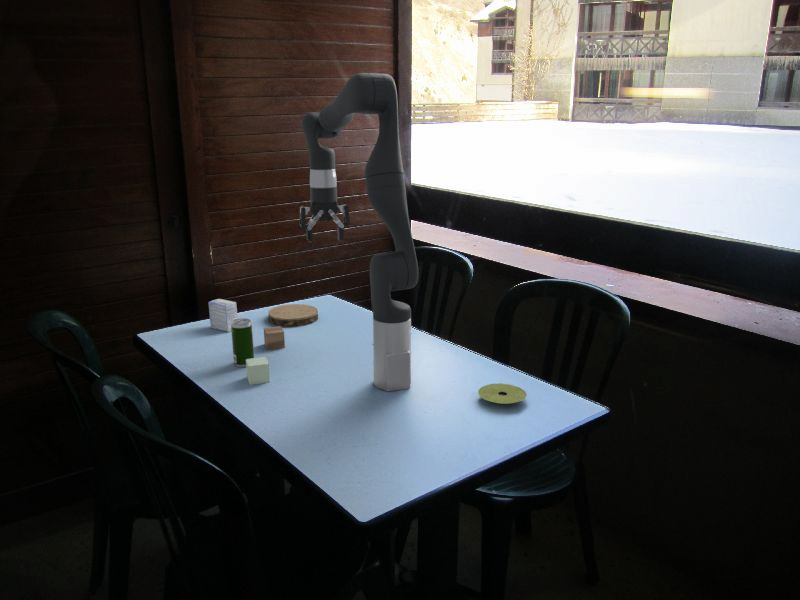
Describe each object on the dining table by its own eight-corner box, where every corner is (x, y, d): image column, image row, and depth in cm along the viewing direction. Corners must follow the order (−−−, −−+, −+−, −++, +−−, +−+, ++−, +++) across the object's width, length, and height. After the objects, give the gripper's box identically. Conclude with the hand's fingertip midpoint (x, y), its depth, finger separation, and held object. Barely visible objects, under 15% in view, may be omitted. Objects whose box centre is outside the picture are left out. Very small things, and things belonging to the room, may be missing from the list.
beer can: (240, 369, 173) (237, 325, 170) (230, 363, 177) (226, 321, 173) (258, 363, 177) (255, 321, 173) (247, 358, 180) (244, 316, 177)
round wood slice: (272, 330, 204) (272, 320, 204) (265, 315, 219) (264, 306, 218) (322, 324, 209) (322, 315, 209) (312, 310, 224) (312, 302, 223)
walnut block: (284, 348, 189) (284, 331, 187) (267, 350, 187) (266, 333, 186) (281, 342, 193) (280, 326, 192) (264, 344, 191) (263, 328, 190)
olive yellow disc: (486, 412, 148) (486, 405, 148) (471, 392, 159) (472, 385, 158) (533, 408, 151) (534, 400, 150) (515, 388, 161) (516, 381, 161)
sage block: (269, 382, 165) (268, 363, 164) (249, 385, 164) (248, 366, 162) (266, 374, 170) (265, 356, 168) (246, 377, 168) (245, 359, 167)
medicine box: (238, 328, 205) (237, 302, 202) (228, 332, 201) (226, 305, 199) (220, 324, 209) (218, 298, 206) (210, 328, 205) (207, 301, 203)
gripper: (300, 187, 181) (303, 245, 186) (351, 185, 186) (352, 242, 190) (296, 185, 188) (298, 241, 193) (344, 183, 193) (346, 237, 197)
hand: (325, 241), depth 191 cm, fingers open, 8 cm apart
